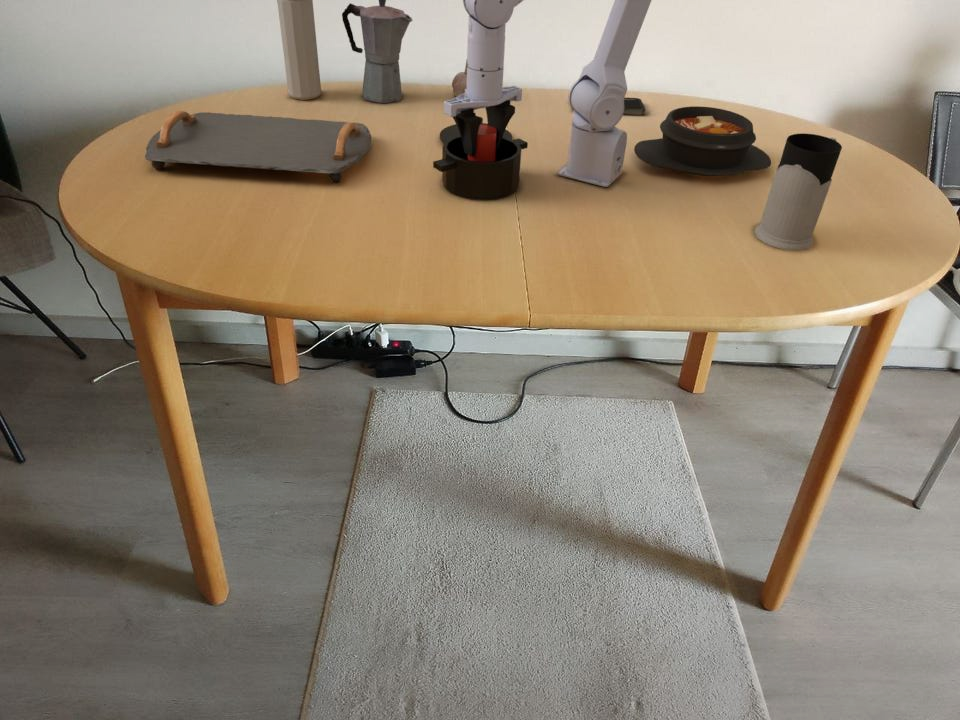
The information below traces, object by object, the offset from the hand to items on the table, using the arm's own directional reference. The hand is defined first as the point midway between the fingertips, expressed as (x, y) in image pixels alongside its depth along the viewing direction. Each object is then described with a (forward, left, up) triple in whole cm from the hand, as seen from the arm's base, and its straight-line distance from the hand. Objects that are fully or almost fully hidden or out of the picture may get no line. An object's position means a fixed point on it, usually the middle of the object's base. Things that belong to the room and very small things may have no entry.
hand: (481, 150), depth 121 cm
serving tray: (+38, +11, -6) cm, 41 cm away
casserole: (-30, -31, -6) cm, 43 cm away
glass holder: (-50, -13, -6) cm, 51 cm away
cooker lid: (+10, -17, -5) cm, 20 cm away
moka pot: (+40, -27, -6) cm, 49 cm away
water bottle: (+54, -19, -6) cm, 58 cm away
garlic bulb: (+25, -39, -6) cm, 47 cm away
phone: (-4, -50, -6) cm, 50 cm away
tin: (0, 0, -1) cm, 1 cm away
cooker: (0, 0, -6) cm, 6 cm away
